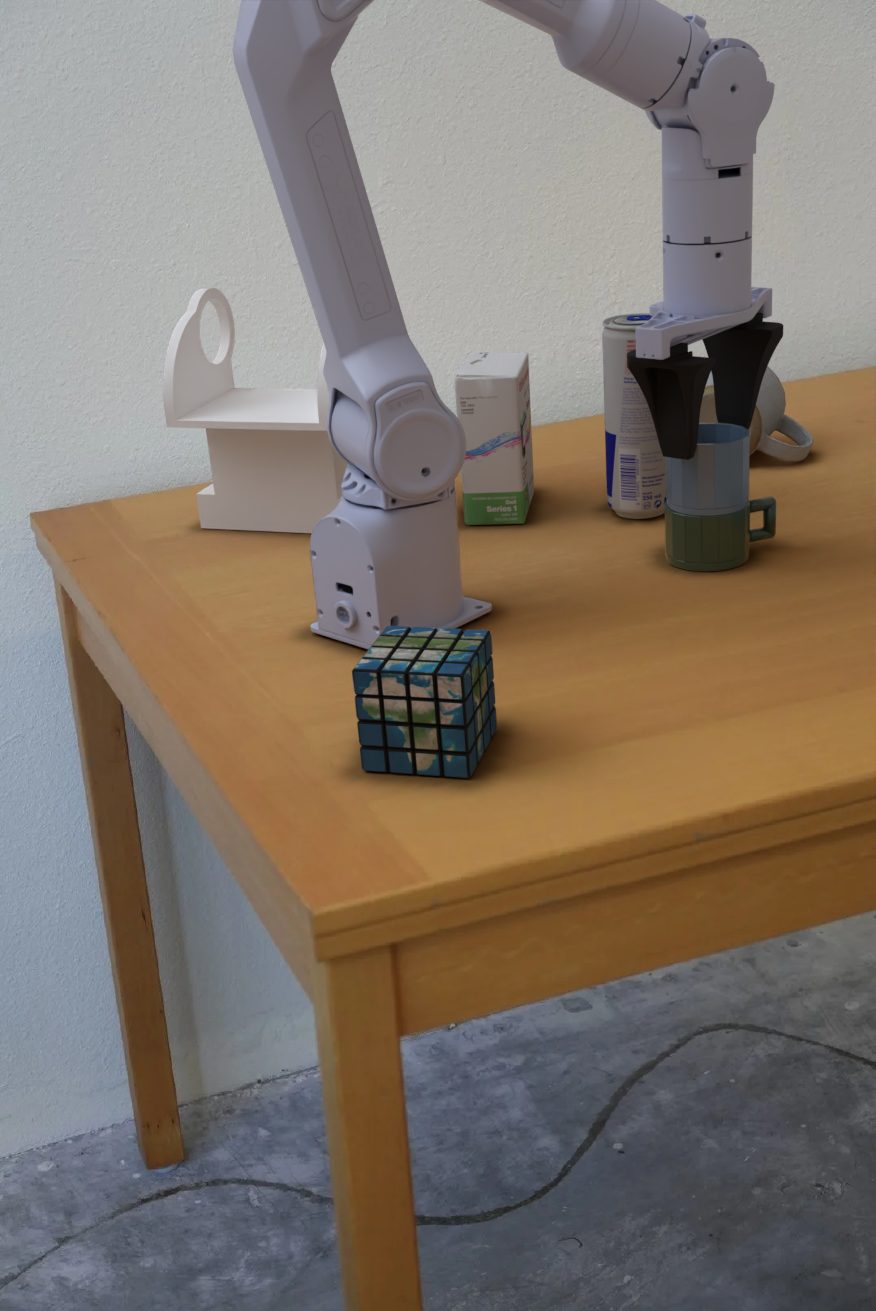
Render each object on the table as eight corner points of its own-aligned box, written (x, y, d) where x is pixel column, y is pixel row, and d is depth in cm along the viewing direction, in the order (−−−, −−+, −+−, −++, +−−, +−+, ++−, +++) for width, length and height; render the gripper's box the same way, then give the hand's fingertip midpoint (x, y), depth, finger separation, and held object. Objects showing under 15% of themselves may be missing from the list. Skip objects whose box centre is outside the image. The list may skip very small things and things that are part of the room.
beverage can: (672, 499, 117) (670, 308, 111) (675, 520, 112) (673, 322, 106) (607, 502, 117) (601, 312, 111) (607, 522, 113) (601, 325, 107)
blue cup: (765, 502, 102) (767, 432, 100) (705, 521, 99) (705, 449, 97) (709, 486, 106) (709, 418, 104) (650, 503, 103) (649, 434, 101)
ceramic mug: (675, 466, 125) (676, 376, 122) (698, 439, 131) (700, 353, 128) (802, 474, 121) (806, 381, 118) (819, 446, 127) (824, 358, 124)
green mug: (687, 577, 101) (687, 521, 99) (651, 551, 106) (650, 498, 105) (795, 557, 103) (796, 502, 101) (755, 533, 108) (755, 480, 107)
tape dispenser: (183, 539, 116) (149, 309, 109) (254, 489, 127) (227, 277, 120) (349, 547, 112) (325, 307, 105) (407, 495, 123) (389, 275, 116)
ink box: (526, 525, 114) (518, 373, 109) (462, 526, 114) (452, 375, 110) (536, 491, 121) (529, 348, 116) (476, 492, 122) (467, 350, 117)
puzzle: (470, 780, 77) (463, 675, 74) (361, 772, 78) (350, 669, 76) (497, 728, 82) (491, 628, 79) (395, 722, 84) (385, 624, 81)
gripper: (708, 220, 103) (708, 411, 108) (592, 254, 93) (598, 462, 98) (802, 222, 99) (796, 421, 104) (691, 258, 89) (691, 476, 94)
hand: (706, 442), depth 101 cm, fingers open, 7 cm apart
